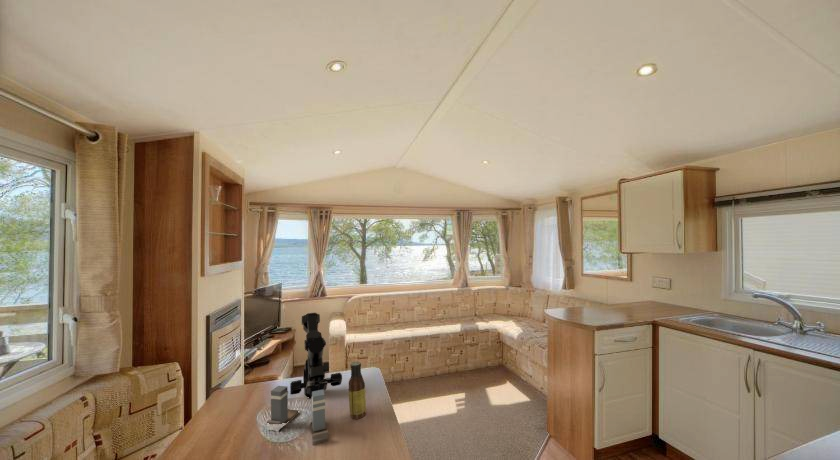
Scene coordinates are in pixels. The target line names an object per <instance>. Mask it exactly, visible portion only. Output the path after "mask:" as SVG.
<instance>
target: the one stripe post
mask: <svg viewBox="0 0 840 460" xmlns="http://www.w3.org/2000/svg"><path fill="white" fill-rule="evenodd" d="M288 389H289V388H288V386H285V385H284V386H283V385H277V386H275V387H274V388H273V389H272V390H270V395H269V396H270V397H269V399H270V420H272V421H280V422H281V424H282V423H284V422H285V421H286V420H287V419H288V409H289V407H288V406H289V405H288V402H289V401H288V395H289V390H288Z"/></svg>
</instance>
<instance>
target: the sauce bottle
mask: <svg viewBox="0 0 840 460" xmlns="http://www.w3.org/2000/svg"><path fill="white" fill-rule="evenodd" d="M361 367H362V362H361V361H353V362H351V363H350V375H351V376H350V378H349V379H348V403H349V405H348V406H349V408H348V409H349V416H350V418H352V419H353V420H358V419H362V418H363V417H365V415H367V414H366V413H367V403H366V402H367V401H366V400H367V399H366V384H365V381H364V378H363V374H362V369H361Z"/></svg>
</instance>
